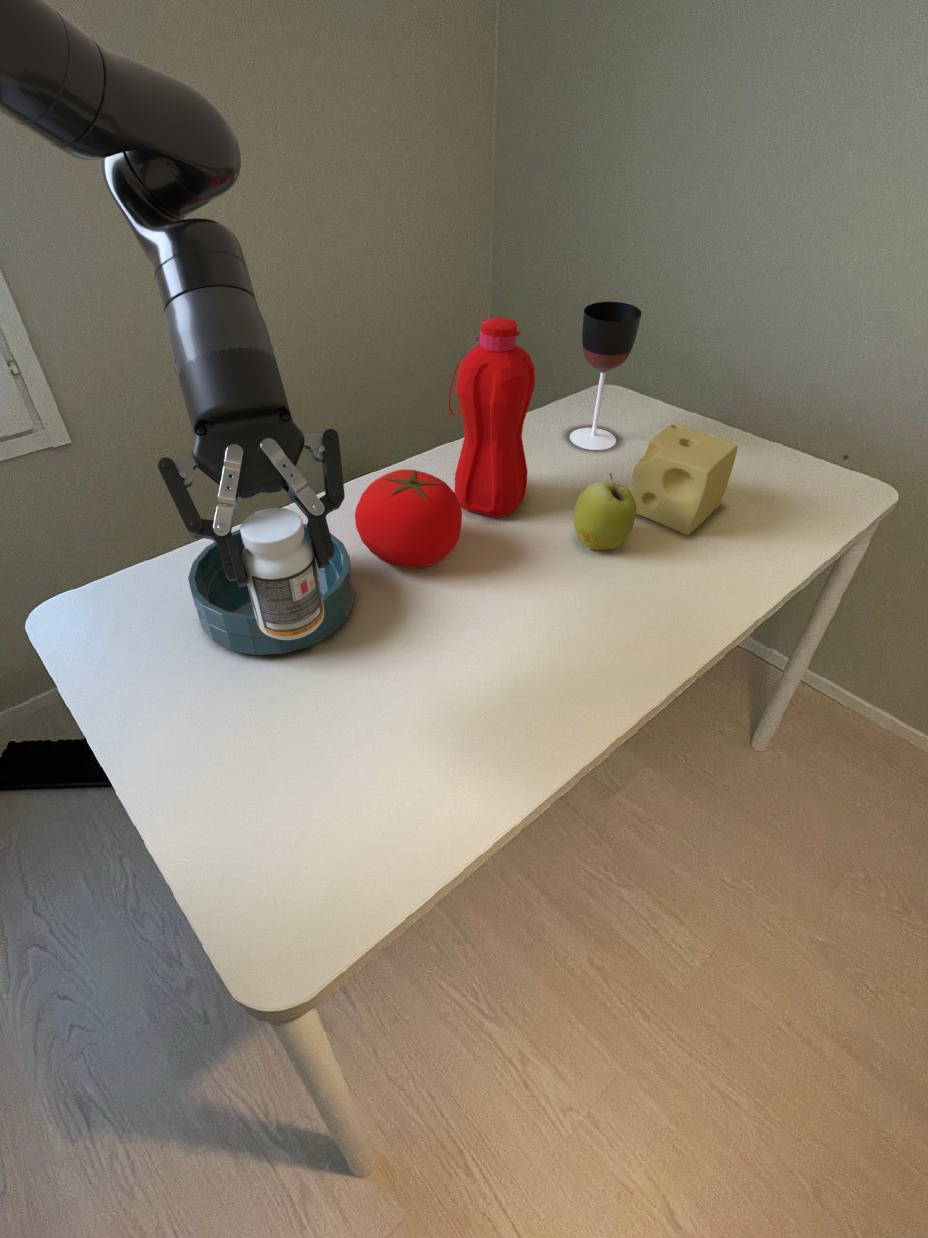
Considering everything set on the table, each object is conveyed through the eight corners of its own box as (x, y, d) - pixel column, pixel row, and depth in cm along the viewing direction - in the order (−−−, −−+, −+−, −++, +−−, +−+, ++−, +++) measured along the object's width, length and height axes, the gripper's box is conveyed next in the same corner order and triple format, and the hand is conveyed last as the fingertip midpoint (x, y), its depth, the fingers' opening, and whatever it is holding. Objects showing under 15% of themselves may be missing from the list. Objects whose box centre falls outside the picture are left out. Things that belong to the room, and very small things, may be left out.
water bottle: (460, 476, 105) (463, 301, 88) (530, 491, 102) (547, 313, 85) (436, 507, 99) (434, 325, 82) (510, 525, 96) (524, 340, 79)
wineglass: (557, 440, 114) (572, 312, 100) (586, 421, 119) (605, 297, 105) (599, 456, 110) (621, 326, 97) (627, 436, 115) (652, 310, 102)
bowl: (214, 678, 74) (201, 636, 70) (191, 581, 86) (179, 540, 82) (373, 634, 79) (369, 594, 75) (331, 549, 91) (326, 509, 87)
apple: (551, 536, 92) (576, 464, 87) (587, 530, 98) (613, 462, 93) (597, 565, 88) (626, 491, 83) (632, 557, 93) (662, 487, 88)
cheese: (622, 510, 99) (635, 446, 92) (659, 480, 105) (673, 418, 98) (690, 539, 94) (709, 473, 87) (724, 505, 100) (744, 442, 94)
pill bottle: (338, 613, 61) (325, 518, 54) (292, 653, 57) (272, 555, 50) (289, 589, 63) (271, 495, 56) (242, 626, 59) (216, 529, 53)
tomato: (436, 594, 85) (435, 517, 77) (343, 564, 89) (333, 489, 81) (476, 542, 93) (479, 467, 85) (389, 517, 97) (385, 444, 89)
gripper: (119, 358, 49) (184, 593, 49) (322, 331, 53) (381, 547, 53) (136, 399, 56) (192, 603, 56) (313, 372, 60) (366, 562, 60)
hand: (284, 574), depth 55 cm, fingers closed on pill bottle, 5 cm apart
